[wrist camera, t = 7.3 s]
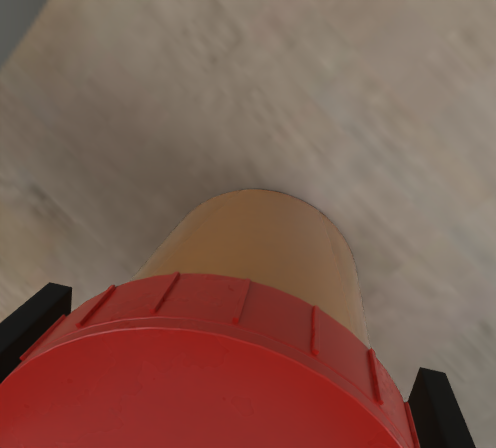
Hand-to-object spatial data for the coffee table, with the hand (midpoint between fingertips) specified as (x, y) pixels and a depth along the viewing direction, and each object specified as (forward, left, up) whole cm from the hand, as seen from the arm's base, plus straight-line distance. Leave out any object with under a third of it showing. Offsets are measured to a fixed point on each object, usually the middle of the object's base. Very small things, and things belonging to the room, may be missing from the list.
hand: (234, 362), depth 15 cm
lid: (0, 0, +6) cm, 6 cm away
